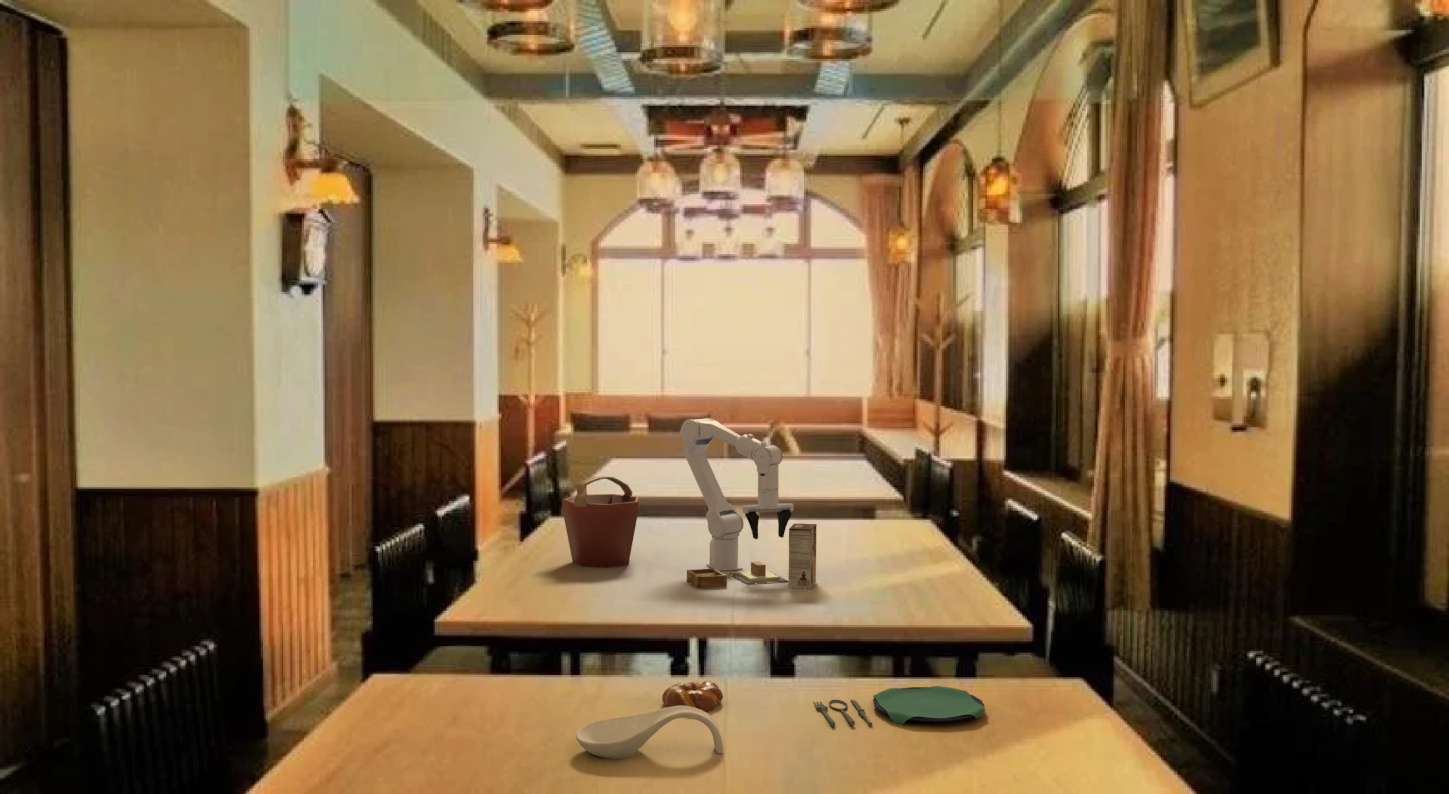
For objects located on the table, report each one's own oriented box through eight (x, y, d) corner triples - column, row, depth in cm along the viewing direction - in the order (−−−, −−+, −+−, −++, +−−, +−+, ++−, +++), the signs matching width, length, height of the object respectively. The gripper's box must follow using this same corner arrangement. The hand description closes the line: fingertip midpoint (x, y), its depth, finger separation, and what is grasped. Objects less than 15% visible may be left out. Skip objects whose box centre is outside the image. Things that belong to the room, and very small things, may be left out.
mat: (729, 574, 340) (729, 573, 340) (769, 572, 344) (769, 571, 344) (746, 584, 327) (746, 583, 327) (788, 582, 331) (788, 581, 331)
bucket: (587, 573, 341) (587, 483, 339) (544, 561, 357) (544, 476, 356) (656, 562, 357) (657, 477, 355) (612, 552, 373) (612, 470, 372)
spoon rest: (575, 767, 190) (575, 722, 190) (576, 742, 202) (576, 699, 202) (726, 763, 193) (726, 718, 192) (718, 738, 204) (719, 696, 204)
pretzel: (691, 691, 231) (692, 672, 231) (737, 703, 224) (737, 683, 224) (648, 706, 221) (649, 686, 221) (694, 718, 215) (694, 698, 214)
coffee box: (792, 581, 332) (793, 522, 331) (816, 582, 331) (817, 523, 330) (787, 588, 323) (788, 528, 322) (811, 589, 322) (812, 529, 321)
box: (686, 581, 331) (686, 570, 331) (714, 579, 334) (714, 568, 334) (698, 588, 322) (698, 577, 322) (726, 586, 324) (726, 575, 324)
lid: (737, 574, 340) (737, 560, 339) (765, 572, 342) (765, 559, 342) (750, 581, 330) (750, 567, 330) (779, 579, 333) (779, 566, 332)
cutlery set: (1000, 727, 211) (1000, 714, 211) (830, 735, 208) (830, 722, 208) (964, 694, 231) (964, 682, 231) (808, 701, 228) (808, 689, 227)
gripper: (748, 491, 333) (748, 541, 334) (797, 489, 338) (797, 538, 339) (739, 489, 340) (740, 537, 341) (788, 486, 345) (788, 534, 345)
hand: (768, 537), depth 340 cm, fingers open, 7 cm apart
